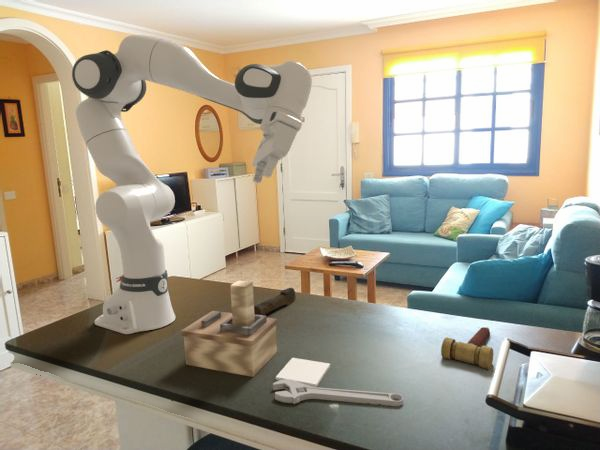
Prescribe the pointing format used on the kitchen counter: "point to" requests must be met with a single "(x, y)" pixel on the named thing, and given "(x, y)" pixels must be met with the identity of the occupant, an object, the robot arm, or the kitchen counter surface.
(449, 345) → the gavel
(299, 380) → the white mat
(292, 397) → the adjustable wrench
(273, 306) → the hand tool
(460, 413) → the kitchen counter surface
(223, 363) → the brown rectangular box
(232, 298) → the oak block
